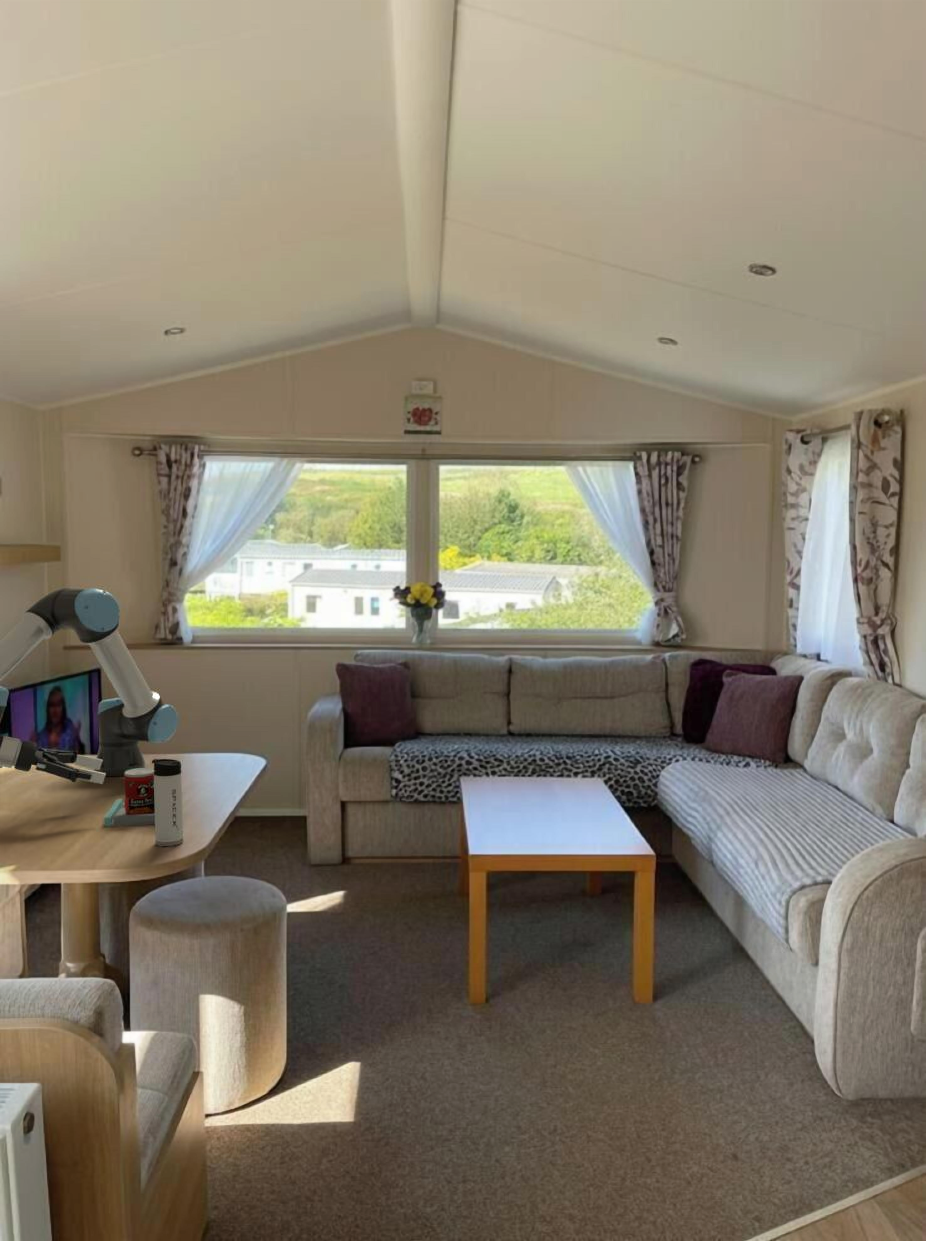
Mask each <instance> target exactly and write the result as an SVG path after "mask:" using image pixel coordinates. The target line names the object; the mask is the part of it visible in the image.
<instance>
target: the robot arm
mask: <svg viewBox="0 0 926 1241" xmlns="http://www.w3.org/2000/svg"><path fill="white" fill-rule="evenodd" d="M120 612H121V608H120V605H119V602H118V600H117V599H116V598H115V596H114V595H112V594H111V593H110V592H108V591H107V590H103V589H98V588H86V589H85V588H83V589H82V588H70V587H69V588H60V589H56V590H54V591H52V592H49V593H48V594H46V595H44V596H43V597H42V598H40V599H39V600H38V601H36V602H35V603H34V604H32V606H31V607H29V608H28V609H27V610H26V611H25V612H24V613H23V614H22V615H21V621H20V622H18V624H17V625H16V626H15V627H13V628H12V629H11V631H9V632H8V633H6V635H5V636H4V637H3V638H2V639H1V640H0V682H1V681H2V680H3V679H4V678H5V677H7V675H8V674H9V673H10V672H11V671H12V670H13V669H14V668H15V667H16V666H17V665H18V664H20V662H21V661H22V660H24V658H25V657H27V656H28V655H29V653H30V652H31V651H33V650H34V649H35V648H36V647H37V646H38V645H39V644H40V643H41V642H42V641H43V640H48V639H50V638H51V637H52V636H53V635H55V634H56V633H58V632H60V631H64V630H70V631H74V633H75V634H76V636H77V638H78V639H79V641H80V642H81V643H82V644H85V645H89V647H90V648H91V650H92V652H93V653H94V655H95V657H96V658H97V660H98V662H99V665H101V668H102V670H104V673H105V674H106V676H107V678H108V679H109V681H110V684H111V685H112V687H113V689H114V690H115V692H116V693H117V695H118V697H113V698H108V699H103V700H101V701H100V702H99V703H98V710H97V721H98V723H97V724H98V725H97V726H98V739H99V740H98V741H99V744H98V745H99V747H98V751H97V755H96V757H91V756H86V755H81V754H78V753H79V751H77V750H63V749H61V750H59V749H50V748H49V749H48V748H45V747H44V748H43V747H38V743H37V742H34V741H29V740H21V739H20V738H16V737H11V736H5V735H0V769H3V767H4V768H7V769H12V768H14V769H15V770H17V771H20V772H21V771H22V772H29V771H31V768H32V766H36V767H35V770H36V771H40V772H45V773H47V774H49V775H50V774H51V775H54V776H57V777H60V778H62V779H64V780H65V779H66V780H68V781H71V782H72V783H76V781H77V780H79V781H80V780H81V781H84V782H90V783H95V784H100V785H103V784H104V781H105V777H121V776H123V777H124V773H125V771H127V770H131V769H136V768H146V760H145V758H144V755H143V753H142V750H141V747H140V743H139V742H146V743H152V744H161V743H166V742H167V741H169V740H171V738H172V737H174V734H175V733H176V730H177V728H178V724H179V714H178V712H177V709H176V708H175V707H174V706H172V705H171V704H170V703H169V704H167V703H166V704H165V703H164V701H163V699H162V698H161V696H160V695H159V693H158V692H156V691H153V690H151V689H150V687H149V685H148V683H147V681H146V680H145V678H144V676H143V674H142V672H141V671H140V668H138V666H137V663H136V662H135V660H134V658H133V657H132V654H131V652H130V651H129V649H128V648H127V644H126V643H125V642H124V640H123V639H122V636H121V635H120V633H119V631H118V629H119V628H120V618H121V615H120ZM9 694H10V691H9V690H8V689H7V688H6V687H4V686H1V685H0V723H1V721H2V719H3V715H4V712H5V709H6V707H7V702H8V698H9ZM69 764H74V765H75V766H78V767H80V768H77V767H74V766H71V765H69ZM81 767H83V768H81ZM87 768H88V769H87Z"/></svg>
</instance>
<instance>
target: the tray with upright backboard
mask: <svg viewBox="0 0 926 1241" xmlns="http://www.w3.org/2000/svg"><path fill="white" fill-rule="evenodd" d="M123 800H124V799H123V798H119V799H118V798H117V799H116V800H115V801H114V803H113V804H112V805H111V807H110V809H109V810H108V811H107V813H106V814H105V816H104V817H103V819H104V820H103V821H104V826H103V827H115V826H116V827H117V826H118V827H121V826H139V825H141V826H142V825H155V812H154V813H153V814H139V815H127V814H126V811H125V804H124V801H123Z"/></svg>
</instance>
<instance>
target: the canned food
mask: <svg viewBox="0 0 926 1241" xmlns="http://www.w3.org/2000/svg"><path fill="white" fill-rule="evenodd" d="M123 777H124V779H123V780H124V805H125V811H126V814H127V815H139V814H153V813H154V812H155V804H154V768H151V767H145V768H136V769H131V770H127V771H125V773H124V775H123Z"/></svg>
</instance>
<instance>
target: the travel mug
mask: <svg viewBox="0 0 926 1241" xmlns="http://www.w3.org/2000/svg"><path fill="white" fill-rule="evenodd" d="M151 764H153V769H154V804H155V824H154V835H155V842H154V843H155V845H156V846H158V847H162V846H170V847H174V846H173V845H176V846H179V845H181V844H182V843H183V842H184V826H183V825H184V824H183V822H184V821H183V816H184V815H183V814H184V812H183V779H182V778H183V776H182V774H183V773H182V763H181V761H179V760H177V759H172V758H171V759H170V758H159V759H158V758H154V759H152V761H151ZM178 844H179V845H178Z"/></svg>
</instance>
